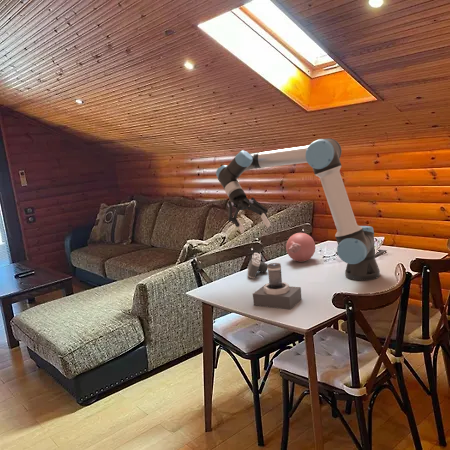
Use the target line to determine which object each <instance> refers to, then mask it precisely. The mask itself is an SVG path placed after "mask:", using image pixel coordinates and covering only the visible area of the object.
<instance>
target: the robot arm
mask: <svg viewBox="0 0 450 450" xmlns="http://www.w3.org/2000/svg"><path fill="white" fill-rule="evenodd" d="M342 151H343V150H342V146H341V144H340V143H339V142H338V141H337V140H336V139H334V138H329V137H328V138H319V139H316V140H314V141H312V142H311V143H310V144H308V145H304V146H297V147H296V146H295V147H290V148H283V149H276V150H267V151H262V152H253V153H249V151H246V150H244V149H243V150H240V151H239V152H238V153H237V154H236V155H235V156H234V158H233V159H232V160H231V161H230V162H229V163H228V165H226V164H224V165H221V166H220V167H218V168H217V170H216V171H215V175H216V177H217V179H218V180H217V181H218V182H219V183H220V186H222V188H223V190H224V191H225V193H226V195H227V197H228V199H229V201H228V202H227V205H226V207H227V209H228V210H227V216H228V217H227V221H228V222H231V223H232V224H234V226H235V227H236V228H238V230H239V231H240V233H241V234H244V232H245V230H246V229H245V227H244V225H243V224H242V222H241V220H240V219H239V217H238V214H239V211H244V210H249V211H252V212H254V213H255V214H257V215H260V218H261V220H262V222H263V223H264V224H265V225H264V226H266V228H267V229H268V228H269V227H270V226H271V222H270V220H269V216H268V215H267V213H268V212H269V209H268V208H267V207H265V206H264V205H262V204H261V203H260V202H258V201H257V200H256V199H255V198H254V197H251V198H248V197H247V194H246V193H245V191H244V190H243V187H242V186H241V184H240V182H239V181H238V179H239V178H240V176H241V175H242V174H243V173H244V172H246V171H250V170H256V169H263V168H273V167H280V166H281V167H282V166H289V165H299V164H305V163H306V164H308V165H309V166H310V167H311V168H312V171H313V174H314V176H316V177H318V178H319V180H320V183H321V186H322V189H323V192H324V195H325V199H326V201H327V204H328V208H329V210H330V213H331V216H332V220H333V222H334V225H335V228H336V233H335V235H334V236H335V240H336V242H337V247H336V252H337V253H338V255H337V256H338V257H339V258H340V260H341V262H343V263H345V264H346V267H345V271H344V275H345V276H344V277H346V278H347V279H350V280H353V281H371V280H376V279H378V278H380V276H381V273H380V268H379V266H378V265H379V264H378V263H377V260H376V257H375V249H376V248H375V232H374V231H375V230H374V227H373V226H369V225H359V224H358V223H357V219H356V217H355V214H354V212H353V208H352V205H351V202H350V199H349V196H348V192H347V189H346V187H345V183H344V181H343V178H342V175H341V171H340V170H341V168H342V162H341V160H340V159H341V157H342ZM233 207H235V210H234V214H233Z"/></svg>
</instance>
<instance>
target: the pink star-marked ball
mask: <svg viewBox="0 0 450 450" xmlns="http://www.w3.org/2000/svg"><path fill="white" fill-rule="evenodd" d="M285 249H286V253H287V255H288V257H289V258H291V259H292V260H293V261H295V262H299V263H300V262H301V263H302V262H307V261H308V260H311V258H312V257H313V256H314V254H315V253H316V243H315V241H314V238H313V237H312V236H311V235H309V234H307V233H305V232H297V233H294V234H291V236H290V237H288V239H287V242H286V244H285Z"/></svg>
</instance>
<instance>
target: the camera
mask: <svg viewBox="0 0 450 450" xmlns="http://www.w3.org/2000/svg"><path fill="white" fill-rule="evenodd" d="M261 260H262V257H261V253H258V252H254V253H253V254H252V255H251V259H250V260H249V261H250V262H249V265H248V266H247V277H249V278H250V279H256V276H257V273H258V272H259V273H263V274H265V273H267V272H268V268H267V267H268V264H269V263H266V262H265V261H261Z"/></svg>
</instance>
